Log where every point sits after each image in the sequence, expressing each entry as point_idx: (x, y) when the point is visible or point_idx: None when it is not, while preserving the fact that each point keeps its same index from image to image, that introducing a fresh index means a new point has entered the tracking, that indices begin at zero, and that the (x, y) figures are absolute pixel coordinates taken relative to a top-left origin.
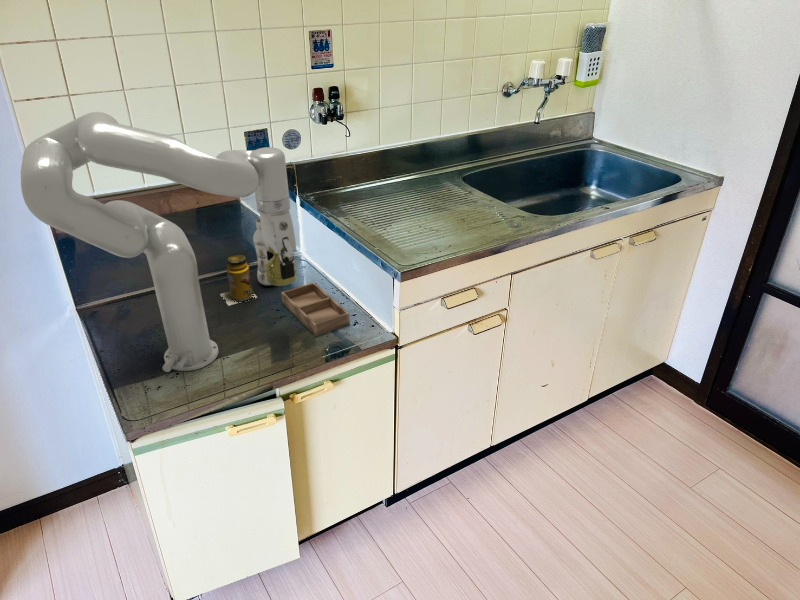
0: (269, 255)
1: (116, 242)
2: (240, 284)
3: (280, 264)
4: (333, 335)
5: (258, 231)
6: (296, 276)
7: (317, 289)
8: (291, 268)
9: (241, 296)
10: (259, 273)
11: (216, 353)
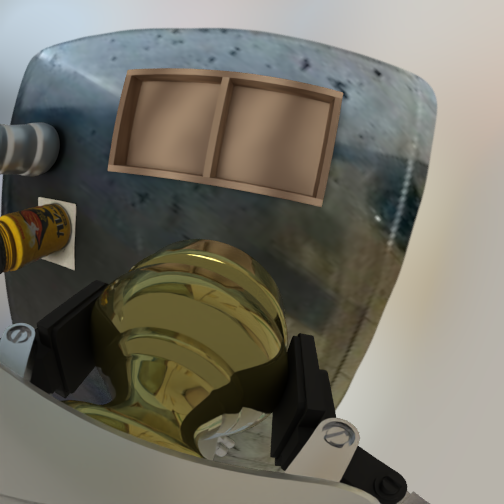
0: (79, 378)
1: None
2: (43, 247)
3: (280, 465)
4: (344, 165)
5: None
6: (259, 268)
7: (157, 76)
8: (333, 403)
9: (63, 240)
10: (26, 174)
11: None
